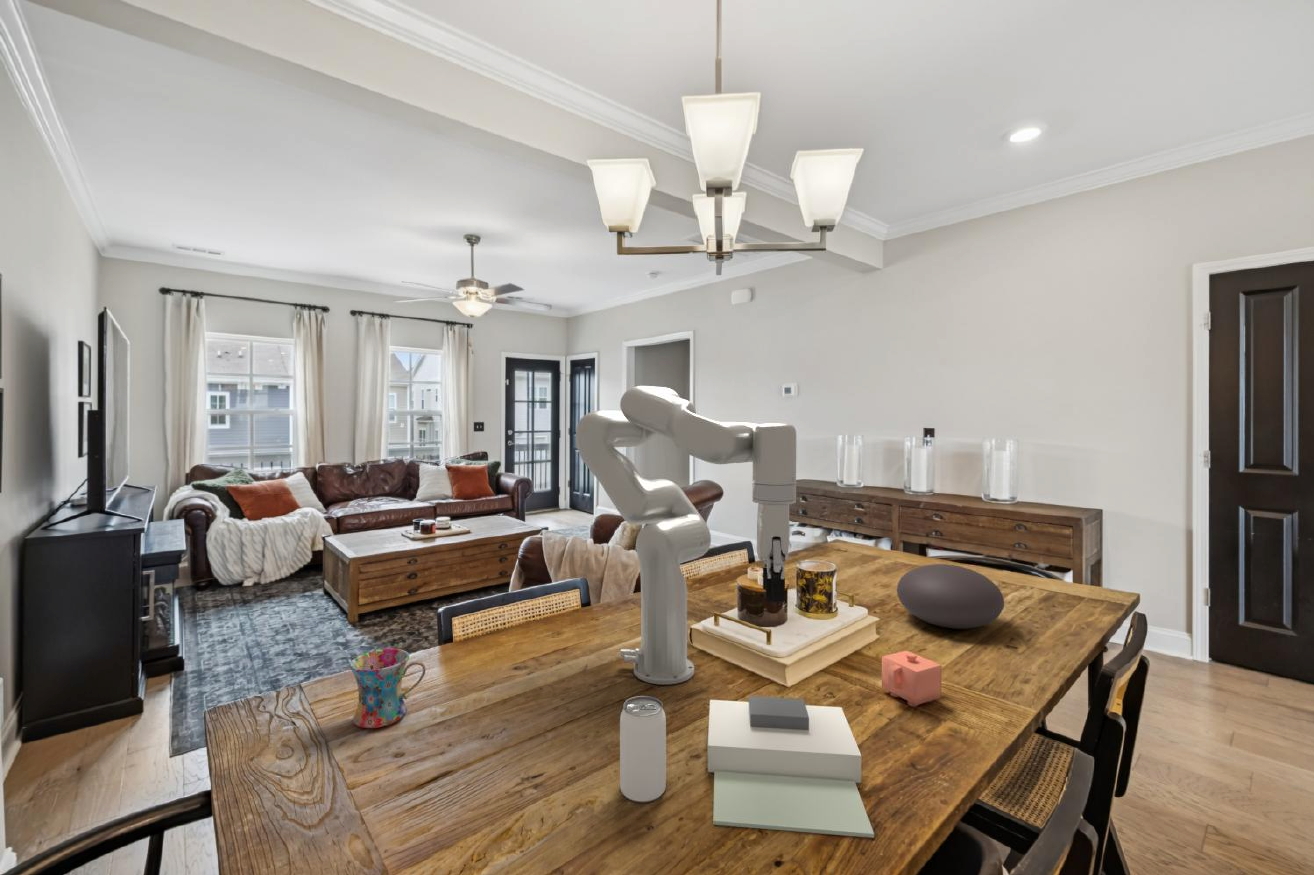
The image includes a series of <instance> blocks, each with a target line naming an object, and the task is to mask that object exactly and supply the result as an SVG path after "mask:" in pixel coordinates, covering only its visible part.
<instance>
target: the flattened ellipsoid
mask: <svg viewBox="0 0 1314 875" xmlns="http://www.w3.org/2000/svg"><path fill="white" fill-rule="evenodd" d="M896 593H897V597H898V600H899V601H900V603H901V605H902V606H903V607H904V608H905V610H907V611H908V613H910V614H912V615H913V616H914V617H916V618H918V619H920V620H922V621H924V622H926V623H928V624H931V625H935V626H938V627H942V628H948V629H949V628H950V629H957V630H961V629H962V630H965V629H968V630H969V629H975V628H979V627H982V626H985V625H988V624H990V623H993V621H995V620H997V618H999V616H1001V614H1002V612H1003V610H1004V609H1005V608H1004V607H1005V601H1004V596H1003V593H1002V591H1001V589H1000V587H998V586H997V585H996V583H994V581H993V580H991V579H989V578H988V577H987V576H986V575H983V574H981V572H977V571H975V570H973V569H970V568H967V567H964V566H959V565H954V564H947V563H946V564H944V563H936V564H935V563H934V564H926V565H922V566H918V567H916V568H913V569H910V570H909V571H907V572H906V573H905V574H904V575H902V576H901V578H900V580H899V581H898V583H897V587H896Z"/></svg>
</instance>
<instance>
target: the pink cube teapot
mask: <svg viewBox="0 0 1314 875" xmlns="http://www.w3.org/2000/svg"><path fill="white" fill-rule="evenodd" d="M942 669H943V667H942V664H939V663H937V662H935V661H934V660H932V659H927V658H925V657H923V656H921V655H918V654H916V653H915V652H914V653H913V652H911V651H909V650H908V649H907V650H903V651H898V652H893V653H890V654H887V655H883V656H882V657H881V688H883V689H884V690H886V691H888V692H890V693H889V696H891V697H894V698H899V697H900V698H902V699H904V700H905V701H907V705H908V706H910V707H914V708H915V707H918V706H919V705H922V704H925V703H930V702H931V703H932V701H935V700H937V699H941V698H942Z"/></svg>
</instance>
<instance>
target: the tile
mask: <svg viewBox="0 0 1314 875" xmlns="http://www.w3.org/2000/svg"><path fill="white" fill-rule="evenodd" d="M748 702H749V717H750V727H763V728H779V729H795V730H809V716H808V713H807V709H806V706H805V705H806V703H805V699H804V698H792V697H773V696H753V695H748Z"/></svg>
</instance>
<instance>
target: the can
mask: <svg viewBox="0 0 1314 875" xmlns="http://www.w3.org/2000/svg"><path fill="white" fill-rule="evenodd" d="M663 706H664V705H663V702H662V701H661V700H660V699H658V698H656V697H653V696H650V695H649V696H648V695H640V696H639V695H638V696H633V697H630V698H628V699H626V700H625V702H624V703H623V706H622V712H621V713H620V717H619V719H620V720H619V784H620V786H619V789H620V791H621V793H622V795H623V796H624V797H625V798H626V799H628V800H629V801H632V802H635V803H640V804H641V803H642V804H643V803H651V802H653V801H656V800H657V799H659V798H660V797H661V796H662V795H663V794H664V793H665V790H666V785H667V784H666V780H667V778H666V777H667V770H666V769H667V726H666V725H667V723H666V722H667V721H666V720H667V719H666V718H667V717H666V713H665V710H664V708H663Z"/></svg>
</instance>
